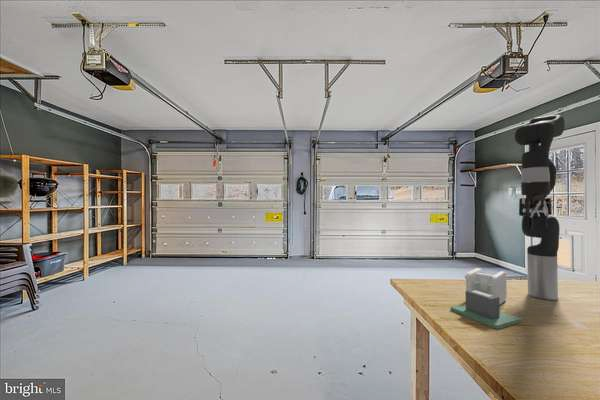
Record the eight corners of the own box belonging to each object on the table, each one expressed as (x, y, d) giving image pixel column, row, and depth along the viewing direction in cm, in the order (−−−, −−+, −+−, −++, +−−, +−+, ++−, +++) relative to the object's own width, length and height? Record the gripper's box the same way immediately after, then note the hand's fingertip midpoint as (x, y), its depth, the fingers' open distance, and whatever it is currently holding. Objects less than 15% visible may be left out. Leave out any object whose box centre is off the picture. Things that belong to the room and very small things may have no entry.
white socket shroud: (496, 310, 98) (496, 278, 98) (464, 302, 106) (464, 272, 106) (507, 300, 108) (507, 270, 108) (477, 293, 116) (476, 266, 116)
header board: (473, 305, 103) (472, 292, 103) (520, 322, 88) (520, 307, 88) (450, 310, 98) (450, 297, 98) (497, 329, 84) (497, 314, 84)
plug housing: (473, 307, 98) (473, 288, 98) (499, 316, 89) (499, 296, 90) (465, 309, 96) (465, 290, 96) (491, 319, 88) (491, 298, 88)
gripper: (534, 182, 100) (535, 226, 100) (510, 181, 94) (511, 228, 94) (560, 180, 93) (561, 228, 93) (535, 180, 87) (536, 230, 87)
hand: (535, 228), depth 93 cm, fingers open, 8 cm apart
